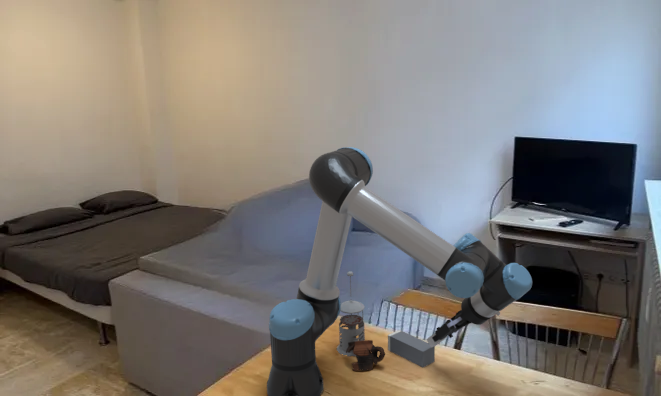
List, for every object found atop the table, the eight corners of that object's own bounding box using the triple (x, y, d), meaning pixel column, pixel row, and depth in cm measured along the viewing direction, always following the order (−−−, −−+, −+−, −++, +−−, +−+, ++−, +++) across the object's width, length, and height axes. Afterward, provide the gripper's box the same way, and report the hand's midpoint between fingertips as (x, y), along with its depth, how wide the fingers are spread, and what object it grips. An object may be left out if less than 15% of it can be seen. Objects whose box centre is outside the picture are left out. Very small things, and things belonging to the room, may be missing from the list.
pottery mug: (342, 372, 152) (339, 342, 154) (355, 371, 160) (353, 343, 162) (381, 368, 147) (378, 338, 149) (393, 368, 155) (390, 338, 158)
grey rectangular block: (422, 367, 152) (388, 350, 162) (434, 361, 155) (399, 344, 165) (423, 351, 151) (387, 335, 161) (434, 345, 154) (399, 329, 164)
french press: (331, 352, 162) (328, 274, 157) (347, 336, 172) (345, 262, 167) (360, 359, 158) (358, 279, 152) (375, 342, 168) (374, 266, 162)
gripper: (474, 326, 129) (422, 362, 146) (505, 310, 137) (452, 347, 154) (457, 299, 132) (407, 338, 149) (488, 285, 140) (438, 324, 157)
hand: (430, 342), depth 151 cm, fingers closed
